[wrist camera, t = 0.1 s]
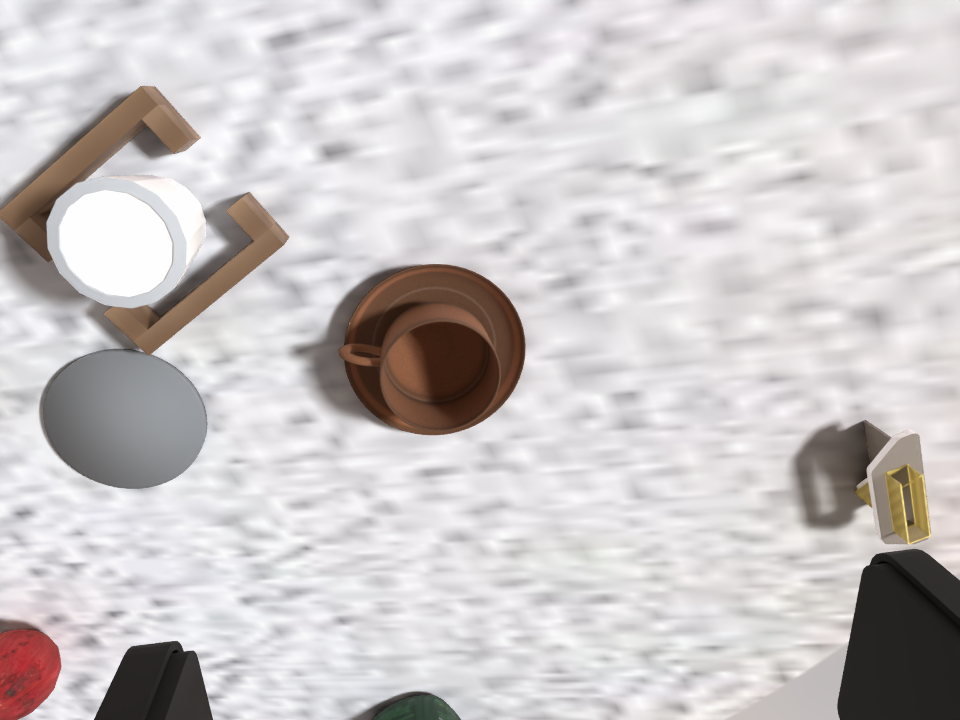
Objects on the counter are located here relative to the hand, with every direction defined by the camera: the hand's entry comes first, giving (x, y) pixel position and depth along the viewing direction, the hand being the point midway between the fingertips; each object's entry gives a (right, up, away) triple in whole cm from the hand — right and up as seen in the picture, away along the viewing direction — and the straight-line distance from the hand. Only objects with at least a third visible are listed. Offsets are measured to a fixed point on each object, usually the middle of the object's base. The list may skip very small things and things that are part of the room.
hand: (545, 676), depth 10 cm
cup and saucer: (-4, +6, +38) cm, 38 cm away
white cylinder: (-21, +13, +33) cm, 41 cm away
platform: (+30, -4, +46) cm, 55 cm away
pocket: (-21, +13, +32) cm, 40 cm away
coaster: (-24, 0, +37) cm, 44 cm away
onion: (-34, -16, +42) cm, 56 cm away
